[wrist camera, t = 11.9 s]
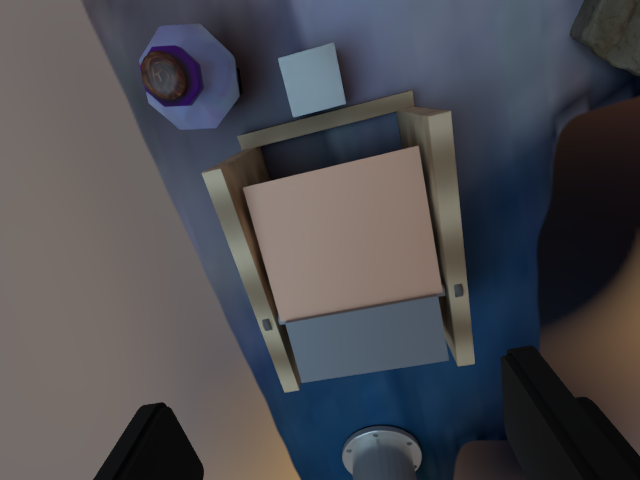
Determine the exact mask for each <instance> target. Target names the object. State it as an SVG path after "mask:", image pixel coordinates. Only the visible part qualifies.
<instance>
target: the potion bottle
mask: <svg viewBox="0 0 640 480" xmlns="http://www.w3.org/2000/svg"><path fill="white" fill-rule="evenodd" d="M139 62H140V68H141V72H142V81H143V83H144V86H145V90H146V93H147V98H148V102H149V104H150V105H152V106H153V107H154V108H155V109H156V110H158V111H159V112H160V113H161V114H162V115H163V116H165V117H166V118H167V119H168V120H169V121H170V122H172V123H173V124H174V125H175V126H176V127H178V128H179V129H180V130H185V129H207V128H217V126H218V125H219V124H220V122H221V121H222V120H223V118H224V117H225V116H226V114H227V113H228V112H229V110H230V109H231V108H232V106H233V105H234V104H235V102H236V101H237V100H238V98H239V97H240V95H241V94H242V86H241V78H240V70H239V69H238V68H237V66H236V61H235V59H234V56H233V54H232V53H230V52H229V51H228V50H227V49H226V48H225V47H224V46H223V45H222V44H221V43H220V42H219V41H218V40H217V39H216V38H215V37H214V36H213V35H212V34H210V33H209V32H208V31H207V30H206V29H205V28H204V27H203V26H202V25H201V24H200V23H198V24H183V25H168V26H159V28H158V30H157V31H156V33H155V35H154V36H153V38H152V40H151V41H150V43H149V45H148V46H147V48H146V50H145V51H144V53H143V55H142V56H141V58H140V60H139Z"/></svg>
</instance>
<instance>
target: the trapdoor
mask: <svg viewBox="0 0 640 480" xmlns="http://www.w3.org/2000/svg"><path fill="white" fill-rule="evenodd" d="M243 190H244V194H245V197H246V201H247V204H248V208H249V212H250V215H251V219H252V222H253V226H254V229H255V233H256V236H257V240H258V243H259V247H260V250H261V254H262V257H263V261H264V264H265V268H266V271H267V275H268V278H269V282H270V286H271V289H272V293H273V296H274V300H275V303H276V307H277V310H278V322H279V324H280V325H283V324H285V325H286V328H287V332H288V335H289V339H290V342H291V346H292V350H293V353H294V357H295V360H296V364H297V367H298V371H299V375H300V378H301V382H302V383H305V382H311V381H318V380H324V379H331V378H338V377H344V376H351V375H357V374H364V373H370V372H377V371H383V370H390V369H397V368H403V367H410V366H416V365H423V364H429V363H436V362H443V361H449V358H448V352H447V346H446V340H445V334H444V328H443V322H442V316H441V310H440V304H439V298H438V297H441V296H445V289H444V286H443V284H441V279H440V273H439V267H438V261H437V255H436V249H435V243H434V236H433V230H432V224H431V218H430V212H429V206H428V200H427V194H426V188H425V182H424V176H423V170H422V164H421V158H420V152H419V146H414V147H410V148H406V149H401V150H397V151H393V152H389V153H385V154H381V155H376V156H372V157H368V158H364V159H360V160H355V161H351V162H347V163H343V164H339V165H335V166H330V167H326V168H322V169H318V170H314V171H309V172H305V173H301V174H297V175H293V176H289V177H284V178H280V179H276V180H272V181H268V182H263V183H259V184H255V185H251V186H247V187H243Z"/></svg>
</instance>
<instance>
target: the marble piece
mask: <svg viewBox="0 0 640 480" xmlns="http://www.w3.org/2000/svg"><path fill="white" fill-rule="evenodd" d="M570 36H571V37H572V38H573V39H575V40H577V41H579V42H580V43H581V44H583V45H585V46H587V47H589V48H590V49H591V51H592V52H593V53H594V54H596V55H597V56H598V57H600V58H601V59H603V60H605V61H608V62H609V63H610V64H611V65H612V66H614V67H617V68H621V69H625V70H627V71H629V72H630V73H632V74H633V75H635V76H640V0H584V2H583V4H582V6H581V9H580V11H579V13H578V15H577V17H576V19H575V21H574V23H573V25H572V28H571V31H570Z"/></svg>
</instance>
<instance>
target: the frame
mask: <svg viewBox="0 0 640 480" xmlns="http://www.w3.org/2000/svg"><path fill="white" fill-rule="evenodd" d="M392 112H396V113H397V119H398V126H399V133H400V139H401V146H402V149H406V148H410V147H414V146H419V152H420V158H421V164H422V170H423V176H424V182H425V188H426V194H427V200H428V206H429V212H430V218H431V224H432V230H433V236H434V243H435V249H436V255H437V261H438V267H439V273H440V279H441V284H443V286H444V289H445V296H441V297H438V298H439V304H440V310H441V316H442V322H443V328H444V334H445V339H446V341H447V343H448V345H449V348H450V350H451V352H452V354H453V357H454V359H455V361H456V363H457V366H464V365H471V364H475V359H474V349H473V338H472V328H471V317H470V307H469V296H468V286H467V275H466V265H465V254H464V244H463V233H462V223H461V212H460V202H459V191H458V181H457V170H456V160H455V149H454V139H453V128H452V117H451V111H446V110H438V109H429V108H421V107H415V106H414V98H413V91H406V92H402V93H398V94H395V95H391V96H387V97H383V98H379V99H376V100H372V101H368V102H364V103H360V104H356V105H353V106H349V107H345V108H341V109H337V110H334V111H330V112H326V113H322V114H318V115H314V116H311V117H307V118H303V119H299V120H295V121H291V122H288V123H284V124H280V125H276V126H272V127H269V128H265V129H261V130H257V131H253V132H249V133H246V134H242V135H239V136H237V137H238V140H239V143H240V146H241V149H242V151H241V152H239V153H237V154H235V155H233V156H232V157H230V158H228V159H226V160H224V161H223V162H221V163H219V164H217V165H216V166H214V167H212V168H210V169H208V170H207V171H205V172H203V173H202V175H203V178H204V181H205V183H206V186H207V189H208V191H209V194H210V197H211V199H212V202H213V205H214V207H215V210H216V212H217V215H218V218H219V220H220V223H221V226H222V228H223V231H224V234H225V236H226V239H227V242H228V244H229V247H230V249H231V252H232V255H233V257H234V260H235V263H236V265H237V268H238V271H239V273H240V276H241V279H242V281H243V284H244V287H245V289H246V292H247V294H248V297H249V300H250V302H251V305H252V308H253V310H254V313H255V316H256V318H257V321H258V324H259V326H260V329H261V331H262V334H263V337H264V339H265V342H266V345H267V347H268V350H269V353H270V355H271V358H272V361H273V363H274V366H275V369H276V371H277V374H278V376H279V379H280V382H281V384H282V387H283V390H284V392H291V391H297V390H299V389H300V381H301V378H300V375H299V371H298V367H297V364H296V360H295V357H294V353H293V350H292V346H291V342H290V339H289V335H288V332H287V328H286V325H285V324H283V325H280V324H279V322H278V310H277V307H276V303H275V300H274V296H273V293H272V289H271V286H270V282H269V278H268V275H267V271H266V268H265V264H264V261H263V257H262V254H261V250H260V247H259V243H258V240H257V236H256V233H255V229H254V226H253V222H252V219H251V215H250V212H249V208H248V204H247V201H246V197H245V194H244V190H243V187H247V186H251V185H255V184H259V183H263V182H268V181H270V178H269V174H268V171H267V168H266V164H265V161H264V158H263V155H262V151H261V148H260V146H263V145H267V144H270V143H274V142H278V141H282V140H286V139H290V138H294V137H298V136H302V135H306V134H310V133H314V132H318V131H321V130H325V129H329V128H333V127H337V126H341V125H345V124H349V123H353V122H357V121H361V120H365V119H369V118H372V117H376V116H380V115H384V114H388V113H392Z"/></svg>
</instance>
